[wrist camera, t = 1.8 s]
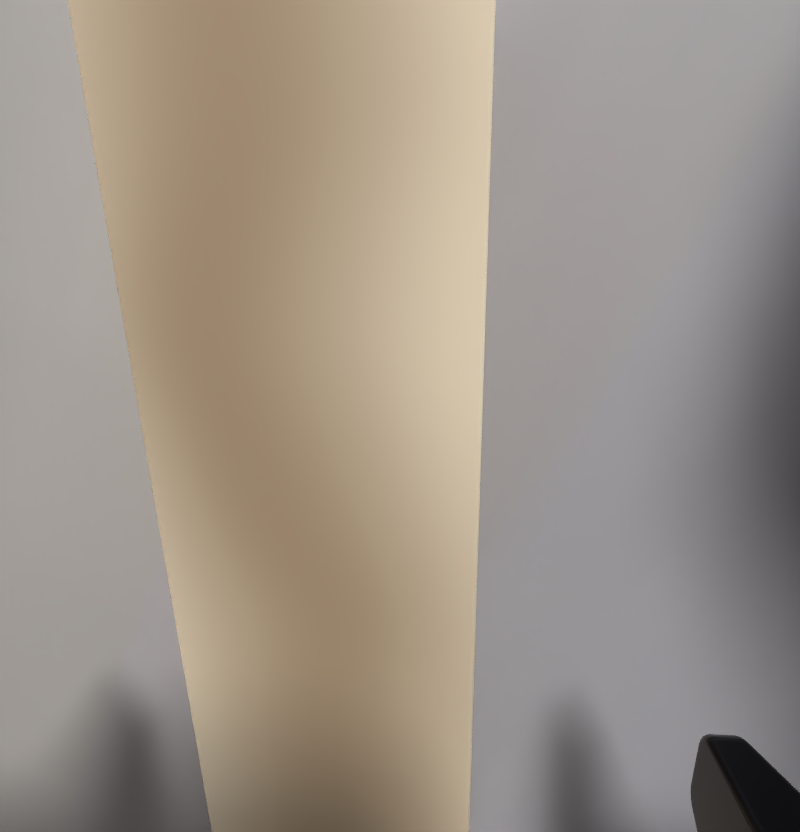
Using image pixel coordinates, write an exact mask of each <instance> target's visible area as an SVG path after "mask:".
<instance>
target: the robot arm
mask: <svg viewBox="0 0 800 832" xmlns="http://www.w3.org/2000/svg"><path fill="white" fill-rule="evenodd" d="M691 802H692V808H693V813H694V817H695V822H696V827H697V831H698V832H800V793H799V792H798V791H797V790H796V789H795V788H794V787H793V786H792V785H791V784H790V783H789V782H788V781H787V780H786V779H785V778H784V777H783V776H782V775H781V774H780V773H779V772H778V771H777V770H776V769H775V768H774V767H773V766H771V765H770V764H769V763H768V762H767V761H766V760H765V759H764V758H763V757H762V756H761V755H760V754H759V753H758V752H757V751H756V750H755V749H754V748H753V747H752V746H751V745H750V744H749V743H748V742H747V741H745V740H744V739H742V738H741V737H738V736H733V735H712V734H708V735H705V736H703V737H702V739H701V740H700V743H699V747H698V752H697V757H696V762H695V768H694V773H693V778H692V783H691Z"/></svg>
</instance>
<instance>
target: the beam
mask: <svg viewBox="0 0 800 832" xmlns="http://www.w3.org/2000/svg"><path fill="white" fill-rule="evenodd" d="M68 5H69V11H70V17H71V22H72V28H73V34H74V40H75V46H76V51H77V57H78V63H79V69H80V74H81V80H82V86H83V92H84V97H85V103H86V109H87V115H88V121H89V126H90V132H91V138H92V144H93V149H94V155H95V161H96V167H97V172H98V178H99V184H100V190H101V196H102V201H103V207H104V213H105V219H106V224H107V230H108V236H109V242H110V247H111V253H112V259H113V265H114V271H115V276H116V282H117V288H118V294H119V299H120V305H121V311H122V317H123V322H124V328H125V334H126V340H127V346H128V351H129V357H130V363H131V369H132V374H133V380H134V386H135V392H136V397H137V403H138V409H139V415H140V421H141V426H142V432H143V438H144V444H145V449H146V455H147V461H148V467H149V472H150V478H151V484H152V490H153V496H154V501H155V507H156V513H157V519H158V524H159V530H160V536H161V542H162V547H163V553H164V559H165V565H166V571H167V576H168V582H169V588H170V594H171V599H172V605H173V611H174V617H175V622H176V628H177V634H178V640H179V645H180V651H181V657H182V663H183V669H184V674H185V680H186V686H187V692H188V697H189V703H190V709H191V715H192V720H193V726H194V732H195V738H196V744H197V749H198V755H199V761H200V767H201V772H202V778H203V784H204V790H205V795H206V801H207V807H208V813H209V819H210V824H211V830H212V832H469V813H470V782H471V751H472V719H473V688H474V657H475V626H476V594H477V563H478V532H479V500H480V469H481V438H482V406H483V375H484V344H485V312H486V281H487V250H488V219H489V187H490V156H491V125H492V93H493V62H494V31H495V0H68Z"/></svg>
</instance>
